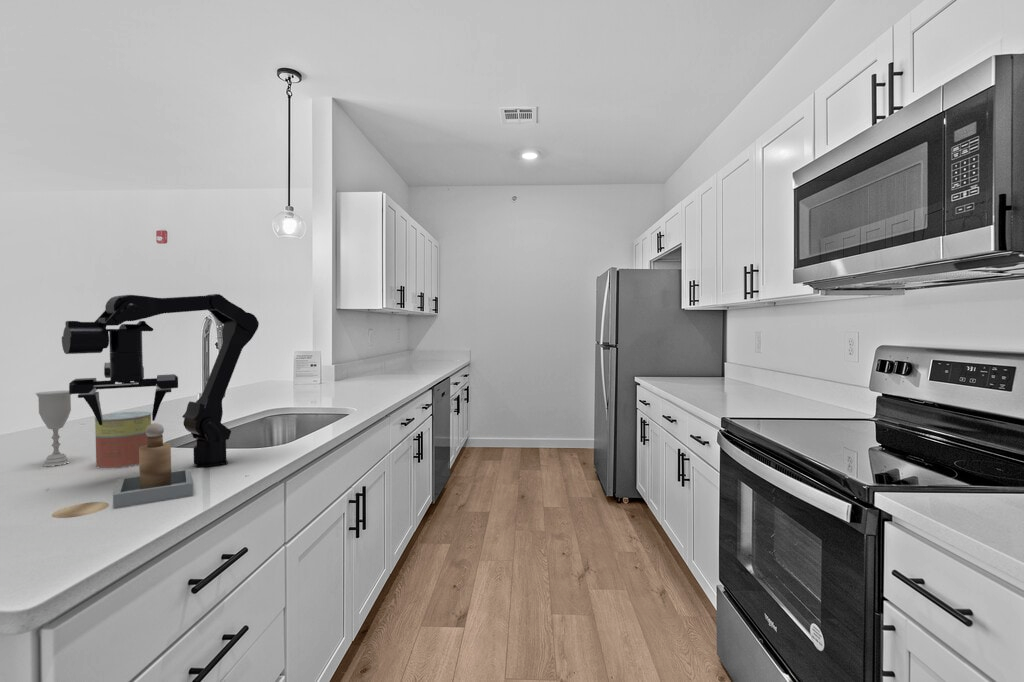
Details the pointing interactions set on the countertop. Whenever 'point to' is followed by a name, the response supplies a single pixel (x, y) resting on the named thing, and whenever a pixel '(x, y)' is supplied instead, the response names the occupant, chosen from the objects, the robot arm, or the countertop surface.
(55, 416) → the chalice
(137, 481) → the tray
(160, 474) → the pepper mill
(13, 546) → the countertop surface
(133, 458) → the canned food
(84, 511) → the coaster
